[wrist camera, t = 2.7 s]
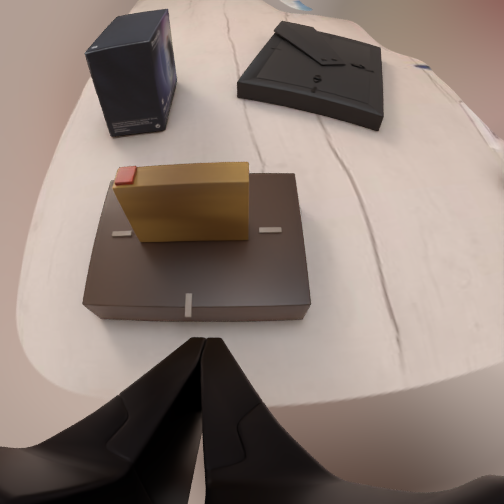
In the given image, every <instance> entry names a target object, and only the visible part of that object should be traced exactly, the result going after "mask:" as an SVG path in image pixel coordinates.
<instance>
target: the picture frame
mask: <svg viewBox="0 0 504 504" xmlns="http://www.w3.org/2000/svg"><path fill="white" fill-rule="evenodd" d="M274 32H275V33H274V35H273V36H272V37H271V38H270V40H269V41H268V42H267V43H266V45H265V46H264V47H263V48H262V50H261V51H260V52H259V54H258V55H257V56H256V57H255V59H254V60H253V61H252V63H251V64H250V65H249V67H248V68H247V69H246V71H245V72H244V73H243V75H242V76H241V77H240V79H239V80H238V82H237V97H239V98H245V99H251V100H257V101H262V102H267V103H272V104H277V105H282V106H287V107H291V108H296V109H300V110H304V111H309V112H313V113H317V114H321V115H324V116H328V117H332V118H336V119H339V120H343V121H346V122H350V123H353V124H357V125H360V126H363V127H367V128H370V129H373V130H376V131H378V130H379V128H380V125H381V122H382V120H383V117H384V113H383V79H382V61H381V48H380V47H377V46H373V45H370V44H367V43H363V42H360V41H356V40H352V39H348V38H345V37H341V36H336V35H332V34H328V33H323V32H319V31H316V30H315V29H314V27H310V26H305V25H300V24H296V23H290V22H285V21H281V22H280V24H279V25H278V26H277V27H276V28H275V29H274Z"/></svg>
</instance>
